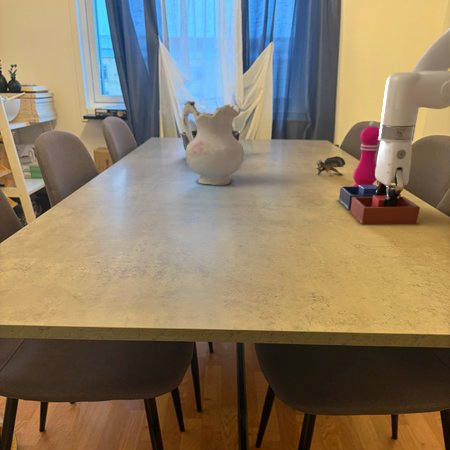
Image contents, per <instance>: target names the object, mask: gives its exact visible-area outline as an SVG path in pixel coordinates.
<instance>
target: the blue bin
mask: <svg viewBox="0 0 450 450" xmlns="http://www.w3.org/2000/svg"><path fill="white" fill-rule="evenodd" d="M392 189H393V188H390V192H391V191H392ZM358 190H359V186H353V185H351V186H349V185H348V186H347V185H345V186H340V188H339V195H338V202H339V203H340V204H341V205H342V206H343V207H344V208H345V209H346V210H347V211H348V212H350V211H351V203H352V197H373V196H375V195H358ZM399 196H402V194H400V195H399Z"/></svg>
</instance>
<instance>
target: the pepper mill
mask: <svg viewBox="0 0 450 450" xmlns="http://www.w3.org/2000/svg"><path fill="white" fill-rule="evenodd" d="M376 125H377V123H376V120H371V121H370V122H369V125H368V126H367V127H364V128H363V129H362V130H361V132H360V136H359V139H360V141H361V144H360V150H361V156H360V159H359V162H358V163H357V165H356V167H355V169H354V171H353V174H352V178H353V181H354V184H353V185H352V186H359V185H375V184H374V183H376V182H377V179H376V178H375V170H376V154H377V151H379V147H380V144H379V143H380V142H381V141H380V140H378V139H379V132H380V127H377V126H376Z"/></svg>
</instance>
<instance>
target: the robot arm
mask: <svg viewBox="0 0 450 450" xmlns="http://www.w3.org/2000/svg"><path fill="white" fill-rule="evenodd" d="M385 83H386V84H385V90H384V97H383V104H382V111H381V118H380V124H379V125H380V127H379V129H380V132H379V139H378V140H380V141H379V146H378V152H377V157H376V162H375V164H376V170H375V178H376V179H377V180H376V186H377V187H376V195H375V196H381V195H386V198H384V203H383V207H397V203H398V199H399V195H401V193H402V191H403V190H404V187H406V186H407V185H408V184H409V179H410V173H411V165H412V164H411V163H412V155H413V154H412V153H413V141H414V138H415V132H416V125H417V120H418V115H419V109H420V108H426V109H433V110H443V109H446V108H449V107H450V27H449V28H448V29H447V30H446V31H444V33H442V35H440V36H439V37H438V38H437V39H436V40H434V42H433V43H432V44H431V45H430V46H429V47H428V48H427V49H426V50H425V51H424V53H422V56H421V57H420V58H419V59H418V61H417V62H416V64H415V65H414V66H413V68H412V70H411V71H409V72H394V73H392V74H391V73H390V74H389V76H388V77H387V79H386V82H385ZM390 188H391V189H392V191H391V192H390Z"/></svg>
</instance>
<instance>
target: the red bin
mask: <svg viewBox="0 0 450 450" xmlns="http://www.w3.org/2000/svg"><path fill="white" fill-rule="evenodd" d="M372 199H373V197H352V203H351V211H349V213H350V214H351V215H352V217H354V218H355V219H356V220H357V221H358V222H359V224H361V225H417V224H418V218H419V214H420V209H421V206H419V205H418V204H416V203H414V202H413V201H411V200H410V199H408V198H407V197H405V196H403V195H401V196H399V199H398V203H397V207H371V205H372Z"/></svg>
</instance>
